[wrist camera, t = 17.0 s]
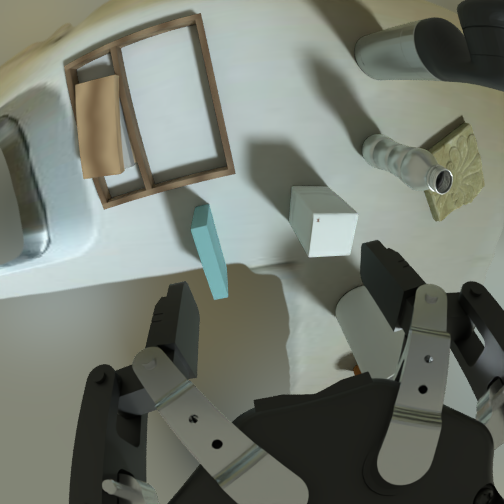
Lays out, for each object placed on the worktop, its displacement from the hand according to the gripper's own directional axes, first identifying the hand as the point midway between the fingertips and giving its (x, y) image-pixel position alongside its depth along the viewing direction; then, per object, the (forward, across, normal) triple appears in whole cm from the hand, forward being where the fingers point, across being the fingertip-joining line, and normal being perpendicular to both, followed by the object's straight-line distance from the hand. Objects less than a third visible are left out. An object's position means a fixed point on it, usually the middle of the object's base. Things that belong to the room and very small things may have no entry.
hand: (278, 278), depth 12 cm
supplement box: (+36, -11, +13) cm, 40 cm away
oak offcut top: (+33, +20, -10) cm, 40 cm away
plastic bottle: (+36, -25, +4) cm, 44 cm away
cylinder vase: (+36, -22, +42) cm, 59 cm away
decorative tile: (+37, -48, +11) cm, 61 cm away
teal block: (+36, +8, +16) cm, 40 cm away
